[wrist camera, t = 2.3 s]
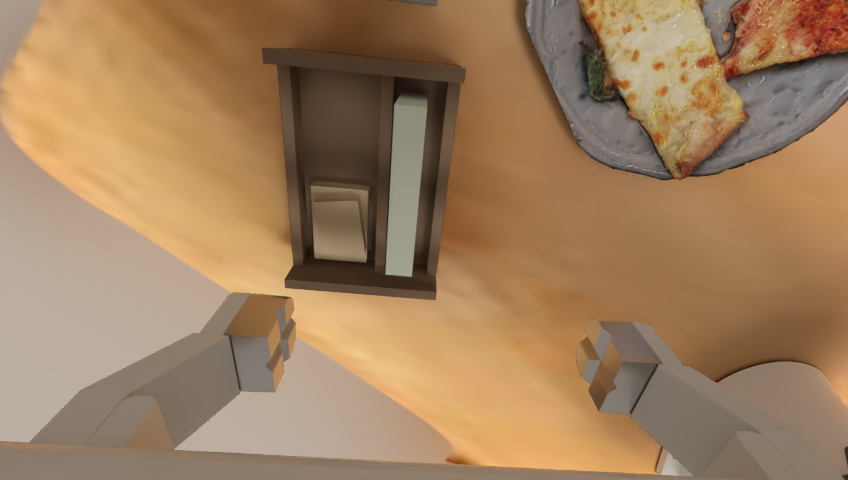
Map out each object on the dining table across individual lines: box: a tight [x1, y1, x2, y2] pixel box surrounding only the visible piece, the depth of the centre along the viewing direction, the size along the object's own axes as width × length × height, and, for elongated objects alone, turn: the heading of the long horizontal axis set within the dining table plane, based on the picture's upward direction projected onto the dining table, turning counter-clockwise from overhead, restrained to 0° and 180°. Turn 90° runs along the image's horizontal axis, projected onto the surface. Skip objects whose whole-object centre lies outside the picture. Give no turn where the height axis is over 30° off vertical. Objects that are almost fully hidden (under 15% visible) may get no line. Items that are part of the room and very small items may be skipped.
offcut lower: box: [311, 181, 370, 263], centre depth 30 cm, size 6×4×1 cm
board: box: [385, 92, 427, 277], centre depth 26 cm, size 11×2×7 cm, turn 175°
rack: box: [262, 48, 466, 300], centre depth 28 cm, size 17×12×5 cm
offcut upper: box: [313, 196, 367, 254], centre depth 29 cm, size 4×3×1 cm
